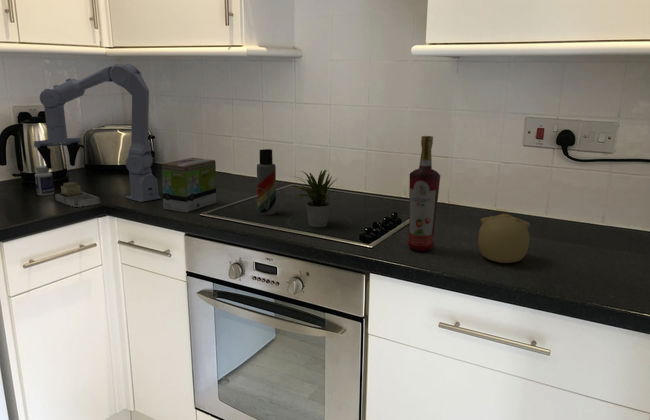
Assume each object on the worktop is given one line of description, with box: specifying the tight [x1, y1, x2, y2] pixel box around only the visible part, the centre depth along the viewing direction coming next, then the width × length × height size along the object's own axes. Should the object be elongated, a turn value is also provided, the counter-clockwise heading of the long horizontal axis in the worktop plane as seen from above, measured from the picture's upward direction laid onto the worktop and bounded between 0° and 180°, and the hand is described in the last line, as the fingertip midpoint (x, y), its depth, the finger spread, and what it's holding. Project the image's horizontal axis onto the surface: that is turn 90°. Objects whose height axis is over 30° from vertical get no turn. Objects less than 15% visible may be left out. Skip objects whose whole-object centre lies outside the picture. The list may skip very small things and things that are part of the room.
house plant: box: [291, 169, 338, 228], centre depth 151 cm, size 14×14×16 cm
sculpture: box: [477, 213, 531, 264], centre depth 124 cm, size 11×12×11 cm
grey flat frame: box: [54, 190, 101, 208], centre depth 174 cm, size 15×8×2 cm, turn 49°
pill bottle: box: [34, 165, 55, 197], centre depth 183 cm, size 5×5×10 cm
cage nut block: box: [60, 181, 82, 197], centre depth 176 cm, size 4×4×6 cm
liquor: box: [406, 135, 441, 253], centre depth 128 cm, size 7×7×28 cm
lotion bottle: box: [256, 148, 277, 216], centre depth 161 cm, size 6×6×20 cm
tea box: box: [161, 157, 217, 213], centre depth 169 cm, size 15×10×15 cm, turn 155°
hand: (61, 167), depth 178 cm, fingers open, 7 cm apart
